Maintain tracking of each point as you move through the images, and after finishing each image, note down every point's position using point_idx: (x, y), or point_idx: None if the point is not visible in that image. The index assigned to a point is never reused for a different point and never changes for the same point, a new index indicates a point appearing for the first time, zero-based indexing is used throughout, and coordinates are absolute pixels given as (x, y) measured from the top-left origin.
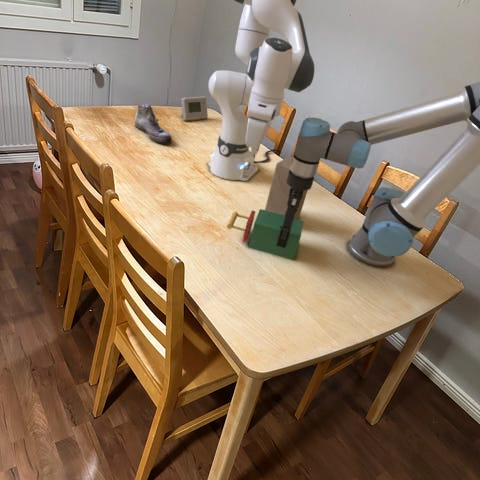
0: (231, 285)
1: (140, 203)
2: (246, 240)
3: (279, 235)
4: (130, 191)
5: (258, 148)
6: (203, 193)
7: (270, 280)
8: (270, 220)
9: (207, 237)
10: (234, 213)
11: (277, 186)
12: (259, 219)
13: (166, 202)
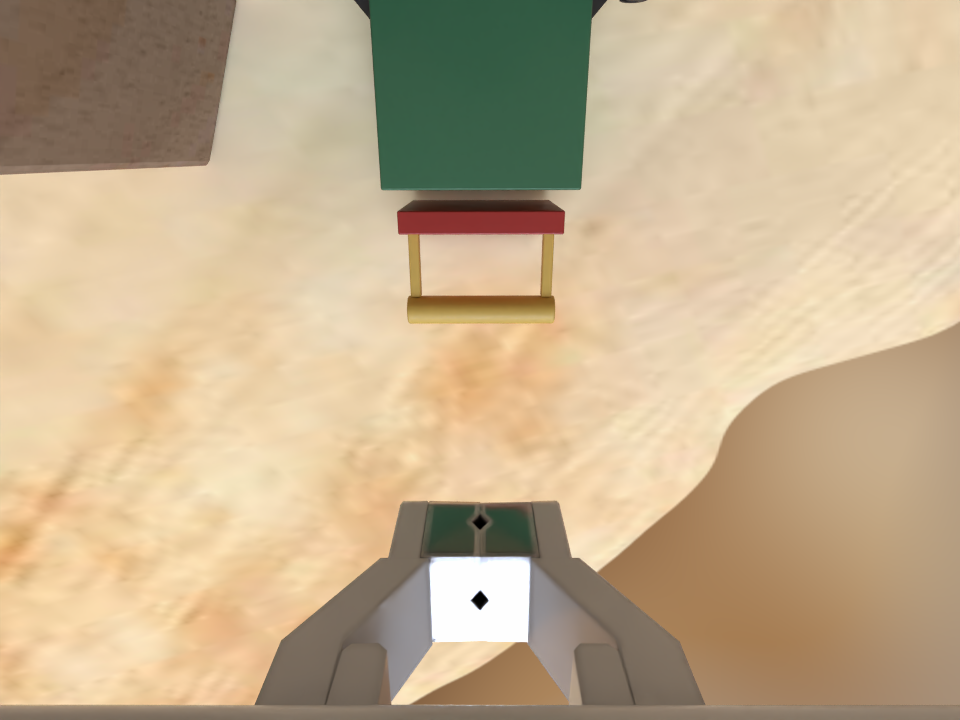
0: (877, 191)
1: None
2: (550, 201)
3: (603, 3)
4: None
5: (483, 547)
6: (210, 477)
7: (799, 16)
8: (494, 92)
9: (564, 367)
10: (431, 316)
11: (80, 113)
12: (519, 167)
13: None
